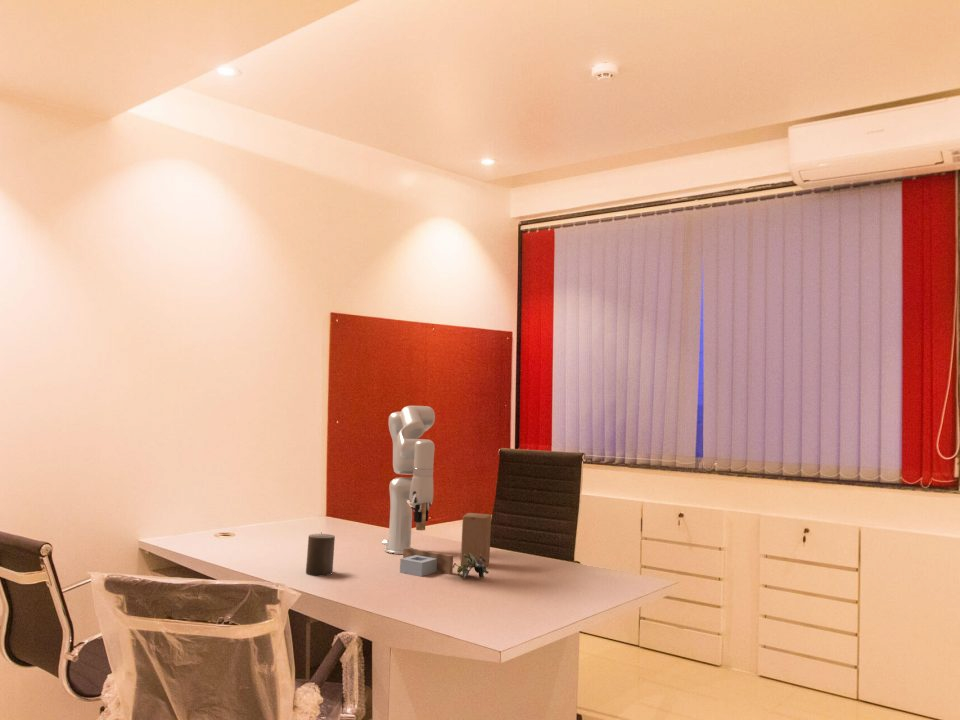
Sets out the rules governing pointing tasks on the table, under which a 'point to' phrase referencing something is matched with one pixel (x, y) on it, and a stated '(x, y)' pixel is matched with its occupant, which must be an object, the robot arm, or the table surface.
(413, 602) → the table surface
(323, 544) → the pillar candle
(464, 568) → the passion flower
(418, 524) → the oak dowel
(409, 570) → the socket block
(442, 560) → the walnut wall
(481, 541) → the wooden block
